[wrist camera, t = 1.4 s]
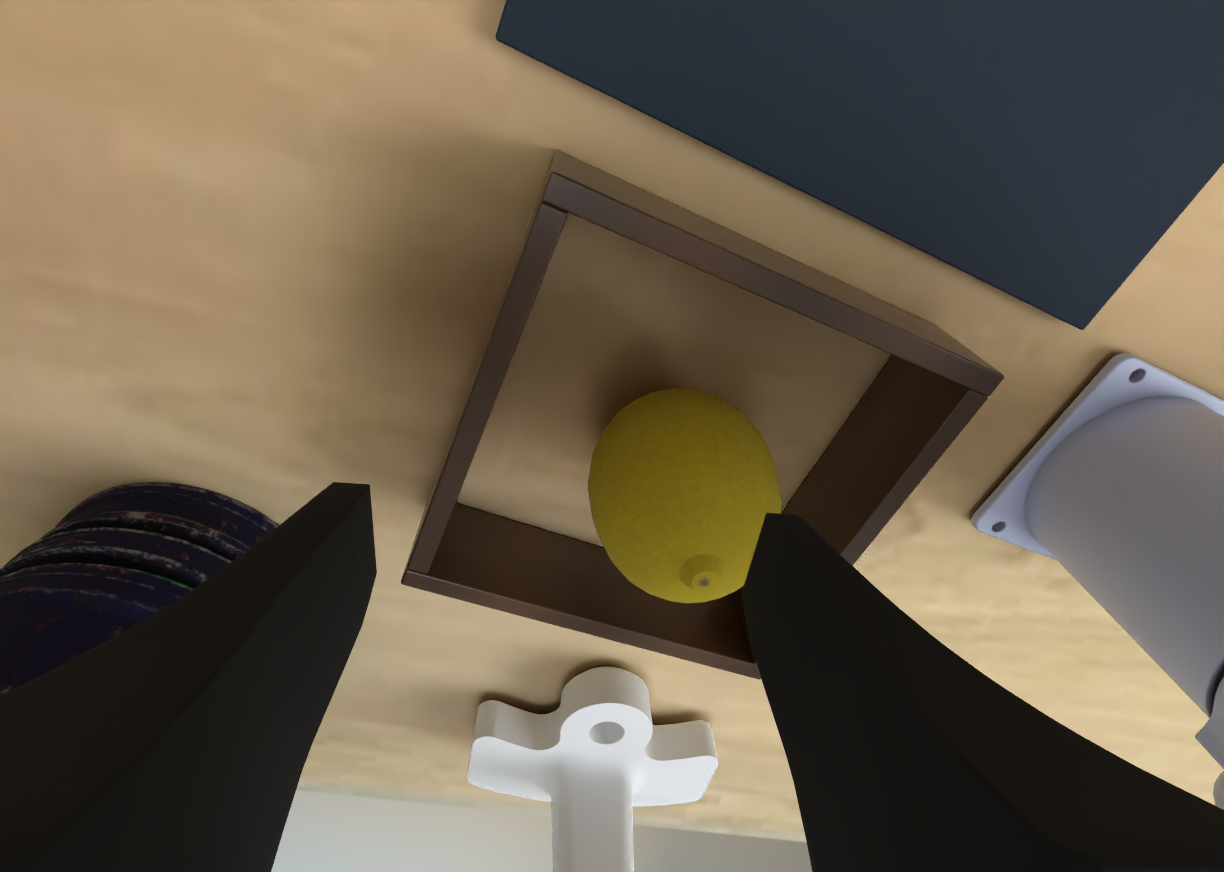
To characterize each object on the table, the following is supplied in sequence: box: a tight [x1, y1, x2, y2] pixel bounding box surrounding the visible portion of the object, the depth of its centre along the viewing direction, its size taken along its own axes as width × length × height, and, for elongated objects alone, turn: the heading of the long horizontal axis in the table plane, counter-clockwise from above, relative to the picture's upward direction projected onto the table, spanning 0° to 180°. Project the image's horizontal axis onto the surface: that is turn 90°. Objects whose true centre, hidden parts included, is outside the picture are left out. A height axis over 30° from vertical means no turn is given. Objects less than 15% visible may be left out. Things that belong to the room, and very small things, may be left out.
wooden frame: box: [401, 150, 1004, 679], centre depth 21 cm, size 13×13×4 cm
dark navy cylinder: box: [0, 483, 278, 695], centre depth 19 cm, size 10×10×15 cm
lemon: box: [588, 388, 781, 603], centre depth 19 cm, size 6×6×8 cm
